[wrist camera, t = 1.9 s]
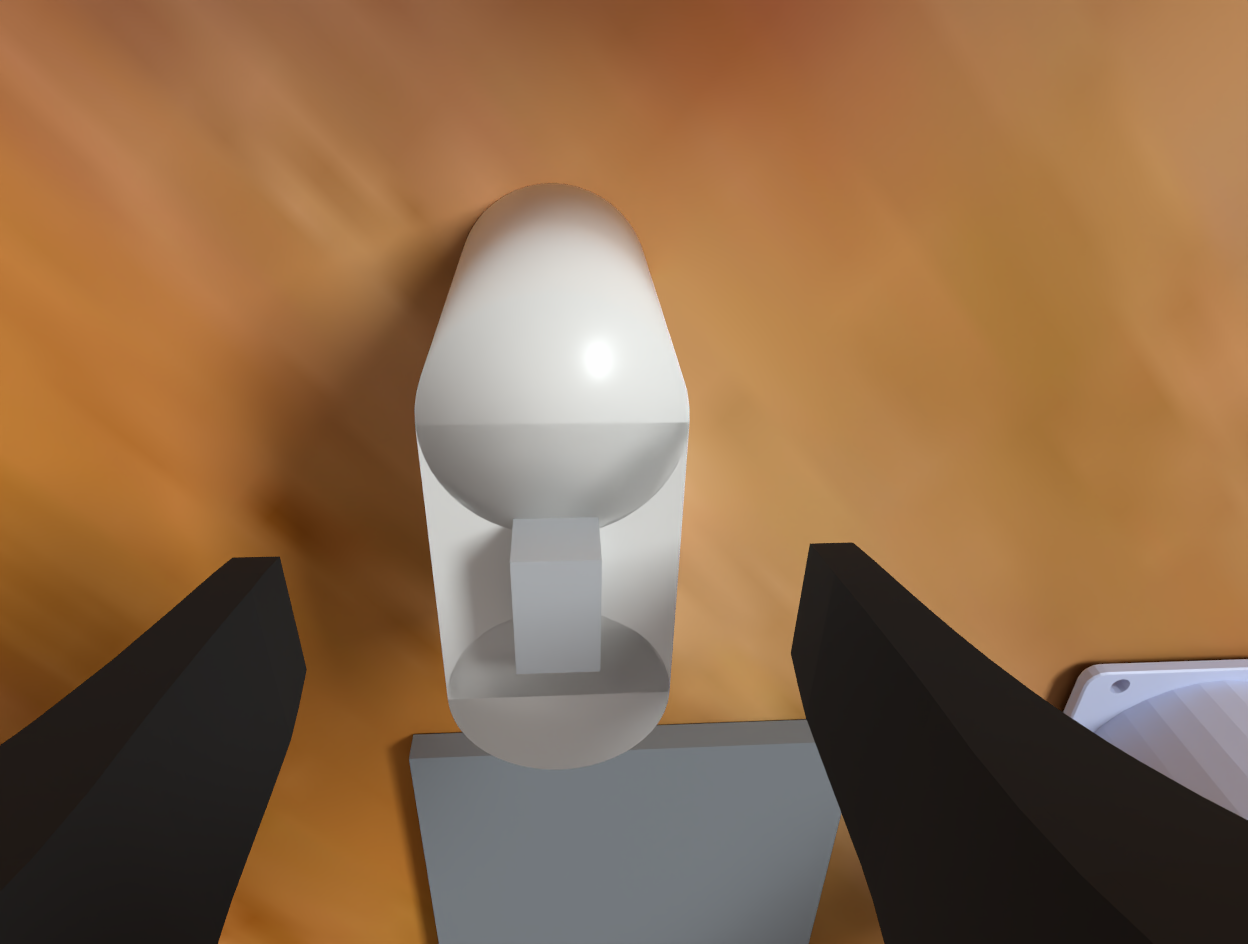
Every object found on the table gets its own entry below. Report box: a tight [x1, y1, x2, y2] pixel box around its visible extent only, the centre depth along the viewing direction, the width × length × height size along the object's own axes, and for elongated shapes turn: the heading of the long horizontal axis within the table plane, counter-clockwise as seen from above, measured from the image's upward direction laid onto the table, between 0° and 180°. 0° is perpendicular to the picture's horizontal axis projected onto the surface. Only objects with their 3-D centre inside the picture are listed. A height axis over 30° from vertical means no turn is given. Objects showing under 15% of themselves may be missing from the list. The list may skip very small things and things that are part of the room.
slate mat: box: [409, 720, 841, 944], centre depth 25 cm, size 12×12×1 cm
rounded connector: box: [414, 183, 689, 770], centre depth 14 cm, size 4×9×7 cm, turn 178°
